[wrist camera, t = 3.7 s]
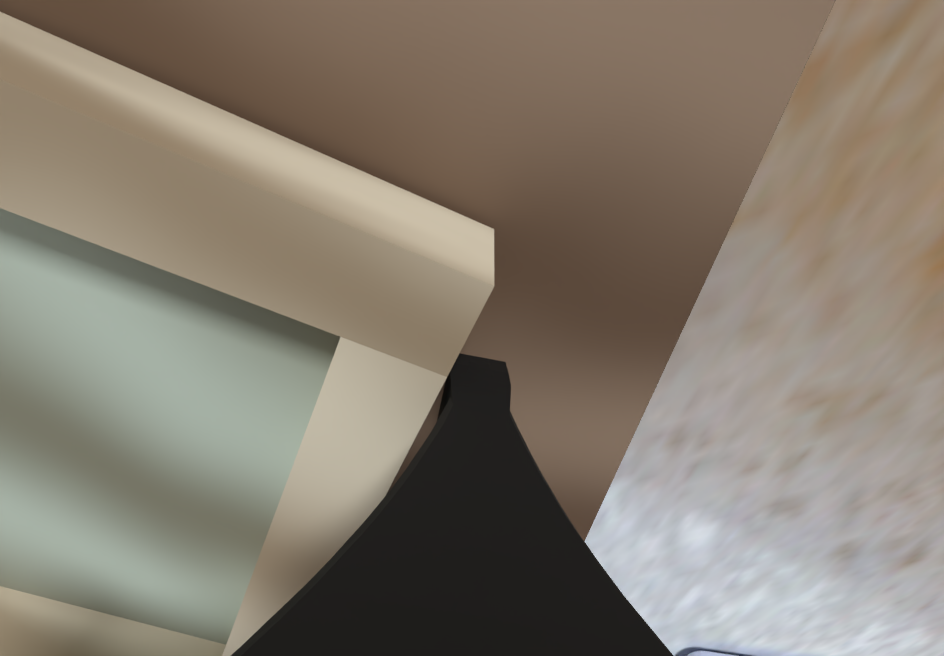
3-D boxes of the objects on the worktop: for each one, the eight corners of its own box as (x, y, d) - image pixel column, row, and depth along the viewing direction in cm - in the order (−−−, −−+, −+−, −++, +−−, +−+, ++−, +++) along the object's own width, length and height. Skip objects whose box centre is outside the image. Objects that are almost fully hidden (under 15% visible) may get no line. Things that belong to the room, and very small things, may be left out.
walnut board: (491, 699, 18) (491, 740, 17) (-259, 596, 17) (-309, 635, 16) (878, -204, 7) (949, -245, 6) (-1500, -841, 5) (-2029, -1070, 4)
